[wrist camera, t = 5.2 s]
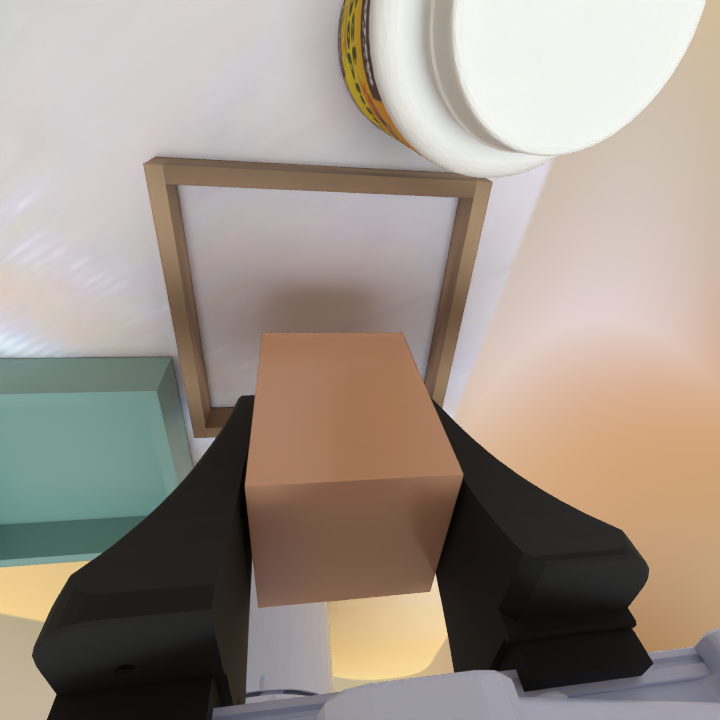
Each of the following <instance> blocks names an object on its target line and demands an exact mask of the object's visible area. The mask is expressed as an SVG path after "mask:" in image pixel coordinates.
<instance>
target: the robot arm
mask: <svg viewBox="0 0 720 720" xmlns="http://www.w3.org/2000/svg"><path fill="white" fill-rule="evenodd" d="M430 398H431V397H430ZM431 401H432V403H433V405H434V407H435V410H436V412H437V414H438V417H439V419H440V421H441V424H442V426H443V428H444V430H445V433H446V435H447V437H448V440H449V442H450V444H451V447H452V449H453V451H454V453H455V456H456V458H457V460H458V463H459V465H460V467H461V470H462V472H463V474H464V475H463V479H462V482H461V486H460V489H459V493H458V496H457V499H456V503H455V506H454V510H453V513H452V517H451V520H450V524H449V527H448V531H447V534H446V538H445V541H444V545H443V548H442V552H441V555H440V559H439V562H438V566H437V569H436V577H437V582H438V587H439V592H440V597H441V601H442V606H443V612H444V617H445V622H446V628H447V633H448V638H449V644H450V650H451V656H452V662H453V667H454V673H449V674H441V675H434V676H425V677H418V678H409V679H402V680H393V681H386V682H378V683H370V684H365V685H361V686H357V687H353V688H349V689H346V690H343V691H341V692H335V693H334V690H333V675H332V660H331V645H330V631H329V616H328V601H327V602H317V603H306V604H296V605H286V606H275V607H265V608H258V604H257V595H256V586H255V576H254V567H253V558H252V549H251V539H250V530H249V521H248V512H247V503H246V493H245V480H246V471H247V463H248V454H249V445H250V437H251V428H252V419H253V411H254V402H255V395H250V396H241V397H240V398H239V399H238V401H237V403H236V405H235V407H234V409H233V411H232V413H231V414H230V416H229V418H228V420H227V421H226V423H225V425H224V426H223V428H222V429H221V431H220V432H219V434H218V435H217V437H216V438H215V440H214V441H213V443H212V444H211V446H210V447H209V448H208V450H207V451H206V452H205V454H204V455H203V456H202V458H201V459H200V460H199V462H198V463H197V464H196V465H195V467H194V468H193V469H192V470H191V472H190V473H189V474H188V475H187V476H186V477H185V479H184V480H183V481H182V482H181V483H180V484H179V485H178V486H177V487H176V488H175V490H174V491H173V492H172V493H171V494H170V495H169V496H168V497H167V498H166V499H165V500H164V501H163V502H162V503H161V504H160V505H159V506H158V507H157V508H156V509H154V510H153V511H152V512H151V513H150V514H149V515H148V516H147V517H146V518H145V519H144V520H142V521H141V522H140V523H139V524H138V525H136V526H135V527H134V528H133V529H132V530H131V531H129V532H128V533H127V534H126V535H125V536H123V537H122V538H121V539H120V540H119V541H117V542H116V543H115V544H114V545H112V546H111V547H110V548H109V549H107V550H106V551H104V552H103V553H102V554H100V555H99V556H97V557H96V558H95V559H93V560H92V561H90V562H89V563H88V564H86V565H85V566H83V567H82V568H81V569H79V570H78V571H76V572H75V573H73V574H72V575H71V576H70V577H69V579H68V581H67V582H66V584H65V586H64V587H63V589H62V591H61V592H60V594H59V596H58V597H57V599H56V601H55V603H54V604H53V606H52V608H51V610H50V612H49V615H48V617H47V619H46V621H45V624H44V626H43V628H42V630H41V632H40V635H39V637H38V639H37V641H36V643H35V646H34V649H33V654H32V657H33V660H34V662H35V665H36V666H37V668H38V669H39V671H40V672H41V674H42V675H43V676H44V678H45V679H46V680H47V682H48V683H49V684H50V686H51V687H52V689H53V690H54V691H55V693H56V694H57V695H56V698H55V700H54V703H53V705H52V708H51V711H50V713H49V716H48V718H47V720H720V628H718V629H714V630H711V631H709V632H707V633H706V634H704V635H703V636H702V637H701V638H700V639H699V640H698V641H697V642H696V644H695V646H694V647H687V648H679V649H671V650H663V651H655V652H649V653H648V652H646V650H645V649H644V647H643V645H642V644H641V642H640V640H639V639H638V637H637V636H636V634H635V632H634V631H633V629H632V628H634V627H635V626H636V620H635V619H634V617H633V616H632V614H631V612H630V611H629V609H628V606H629V605H630V604H631V603H632V601H633V600H634V599H635V597H636V596H637V595H638V593H639V592H640V590H641V589H642V588H643V587H644V585H645V583H646V581H647V579H648V574H649V567H648V565H647V563H646V562H645V560H644V559H643V558H642V556H641V555H640V554H639V552H638V551H637V549H636V548H635V547H634V545H633V544H632V542H631V541H630V540H629V538H628V537H627V536H626V535H625V533H624V532H623V531H622V530H620V529H618V528H616V527H614V526H612V525H609V524H607V523H605V522H603V521H601V520H598V519H596V518H594V517H592V516H589V515H587V514H585V513H583V512H581V511H579V510H577V509H576V508H574V507H572V506H570V505H568V504H566V503H564V502H562V501H560V500H558V499H557V498H555V497H553V496H552V495H550V494H548V493H546V492H545V491H543V490H542V489H540V488H538V487H537V486H535V485H533V484H532V483H530V482H529V481H527V480H526V479H524V478H523V477H521V476H520V475H518V474H517V473H515V472H514V471H513V470H511V469H510V468H508V467H507V466H506V465H504V464H503V463H502V462H500V461H499V460H497V459H496V458H495V457H494V456H493V455H491V454H490V453H489V452H487V450H485V449H484V448H483V447H482V446H481V445H479V444H478V443H477V442H476V441H475V440H474V439H472V437H470V436H469V435H468V434H467V433H466V432H465V431H464V430H463V429H462V428H461V427H460V426H459V425H458V424H457V423H456V422H455V421H454V420H453V419H452V418H451V417H450V416H449V415H448V414H447V413H446V412H445V411H444V410H443V409H442V408H441V407H440V406H439V405H438V404H437V403H436V402H435V401H434V400H433V399H432V398H431Z"/></svg>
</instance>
